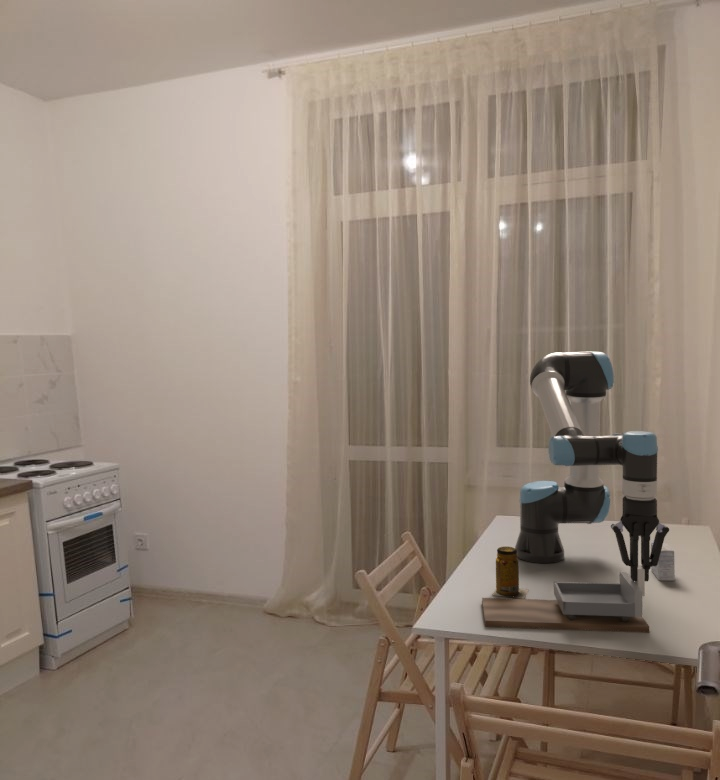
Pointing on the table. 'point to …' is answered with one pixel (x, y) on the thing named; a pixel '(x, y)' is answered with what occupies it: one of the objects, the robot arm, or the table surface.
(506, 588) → the condiment
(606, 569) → the table surface
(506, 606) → the rail board
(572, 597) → the cart
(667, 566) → the medicine box
